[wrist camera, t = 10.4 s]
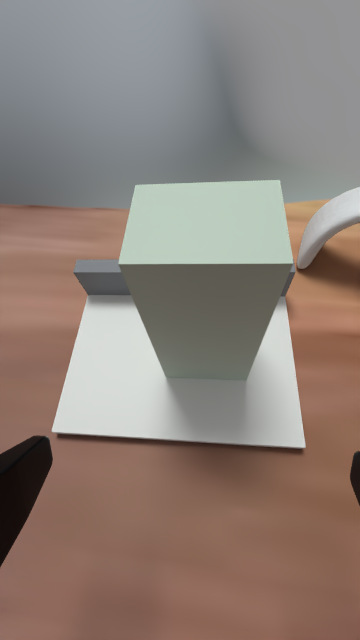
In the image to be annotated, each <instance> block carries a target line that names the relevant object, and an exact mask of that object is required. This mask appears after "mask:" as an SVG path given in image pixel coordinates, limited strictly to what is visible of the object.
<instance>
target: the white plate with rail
mask: <svg viewBox="0 0 360 640" xmlns="http://www.w3.org/2000/svg"><path fill="white" fill-rule="evenodd" d="M118 263H119V260H77V262H76V265H75V269H74V272H73V273H74V274H75V276H76V277H77V279H78V280H79V282H80V283H81V285H82V286H83V288H84V289H85V291H86V292H87V294H88V297H87V301H86V305H85V308H84V312H83V316H82V320H81V323H80V327H79V331H78V335H77V338H76V342H75V346H74V350H73V353H72V357H71V361H70V365H69V368H68V372H67V376H66V379H65V383H64V387H63V391H62V394H61V398H60V402H59V406H58V409H57V413H56V417H55V421H54V424H53V428H52V432H54V433H57V434H73V435H89V436H105V437H121V438H137V439H153V440H169V441H185V442H201V443H217V444H232V445H248V446H264V447H280V448H296V449H303V448H306V447H305V440H304V432H303V425H302V418H301V410H300V403H299V395H298V388H297V381H296V373H295V366H294V359H293V351H292V344H291V336H290V329H289V322H288V314H287V307H286V299H285V295H286V293H287V291H288V288H289V286H290V284H291V281H292V279H293V277H294V274H295V266H294V260H293V266H292V268H291V271H290V273H289V276H288V278H287V281H286V283H285V286H284V288H283V291H282V293H281V296H280V298H279V301H278V303H277V306H276V308H275V310H274V313H273V315H272V318H271V320H270V323H269V325H268V328H267V330H266V333H265V335H264V338H263V340H262V343H261V345H260V348H259V350H258V353H257V355H256V358H255V360H254V363H253V365H252V368H251V370H250V373H249V375H248V378H247V380H246V381H244V380H219V379H194V378H168V377H165V374H164V372H163V370H162V367H161V365H160V362H159V360H158V358H157V355H156V353H155V351H154V348H153V346H152V343H151V341H150V339H149V336H148V334H147V332H146V329H145V327H144V324H143V322H142V320H141V317H140V315H139V313H138V310H137V308H136V305H135V303H134V301H133V298H132V296H131V293H130V291H129V289H128V286H127V284H126V282H125V279H124V277H123V274H122V272H121V270H120V267H119V265H118Z"/></svg>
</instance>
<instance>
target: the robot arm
mask: <svg viewBox="0 0 360 640" xmlns="http://www.w3.org/2000/svg"><path fill="white" fill-rule="evenodd" d="M52 461H53V457H52V451H51V446H50V440H49V438H48V437H47V436H33V437H31V438H29V439H27V440H25V441H23V442H22V443H20V444H18V445H16V446H14V447H13V448H11V449H9V450H7V451H5V452H3V453H2V454H0V567H1V565H2V563H3V561H4V560H5V558H6V556H7V554H8V553H9V551H10V549H11V547H12V545H13V544H14V542H15V540H16V538H17V536H18V535H19V533H20V531H21V529H22V528H23V526H24V524H25V522H26V520H27V518H28V516H29V514H30V512H31V510H32V508H33V506H34V503H35V501H36V499H37V497H38V495H39V492H40V490H41V488H42V486H43V483H44V481H45V479H46V477H47V475H48V472H49V470H50V468H51V465H52ZM350 480H351V484H352V487H353V490H354V492H355V495H356V498H357V500H358V503H359V505H360V451H357V452H355V454H354V456H353V461H352V467H351V473H350Z"/></svg>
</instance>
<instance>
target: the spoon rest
mask: <svg viewBox="0 0 360 640" xmlns="http://www.w3.org/2000/svg"><path fill="white" fill-rule="evenodd" d="M357 223H360V187H358V188H356V189H353V190H350V191H347V192H345V193H343V194H341V195H339V196H337V197H336V198H334V199H332V200H331V201H329V202H328V203H326V204H325V205H324V206H323V207H322V208H320V209H319V210H318V211H317V212H316V213H315V214H314V215H313V217H312V218H311V219H310V221H309V223H308V224H307V226H306V228H305V230H304V234H303V237H302V241H301V245H300V249H299V254H298V259H297V267H298V268H300V269H304V268H306V267H307V266H308V265H310V263H311V262H312V261H313V259H314V258H315V256H316V255H317V253H318V252H319V250H320V249H321V248H322V246H323V245H324V244H325V243H326V242H327V241H328V240H329V239H330V238H331V237H332V236H334V235H335V234H337V233H338V232H340V231H341V230H343V229H345V228H347V227H349V226H352V225H354V224H357Z"/></svg>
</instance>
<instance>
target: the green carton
mask: <svg viewBox="0 0 360 640" xmlns="http://www.w3.org/2000/svg"><path fill="white" fill-rule="evenodd" d="M118 265H119V267H120V270H121V272H122V274H123V277H124V279H125V282H126V284H127V286H128V289H129V291H130V293H131V296H132V298H133V301H134V303H135V305H136V308H137V310H138V313H139V315H140V317H141V320H142V322H143V324H144V327H145V329H146V332H147V334H148V336H149V339H150V341H151V343H152V346H153V348H154V351H155V353H156V355H157V358H158V360H159V362H160V365H161V367H162V370H163V372H164V374H165V377H168V378H194V379H219V380H244V381H246V380H247V378H248V375H249V373H250V370H251V368H252V365H253V363H254V360H255V358H256V355H257V353H258V350H259V348H260V345H261V343H262V340H263V338H264V335H265V333H266V330H267V328H268V325H269V323H270V320H271V318H272V315H273V313H274V310H275V308H276V306H277V303H278V301H279V298H280V296H281V293H282V291H283V288H284V286H285V283H286V281H287V278H288V276H289V273H290V271H291V268H292V266H293V258H292V252H291V246H290V240H289V233H288V227H287V221H286V215H285V209H284V203H283V196H282V191H281V184H280V180H264V181H237V182H207V183H178V184H149V185H136V186H135V190H134V195H133V199H132V204H131V208H130V213H129V217H128V222H127V226H126V231H125V236H124V240H123V245H122V249H121V254H120V258H119V263H118Z"/></svg>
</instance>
